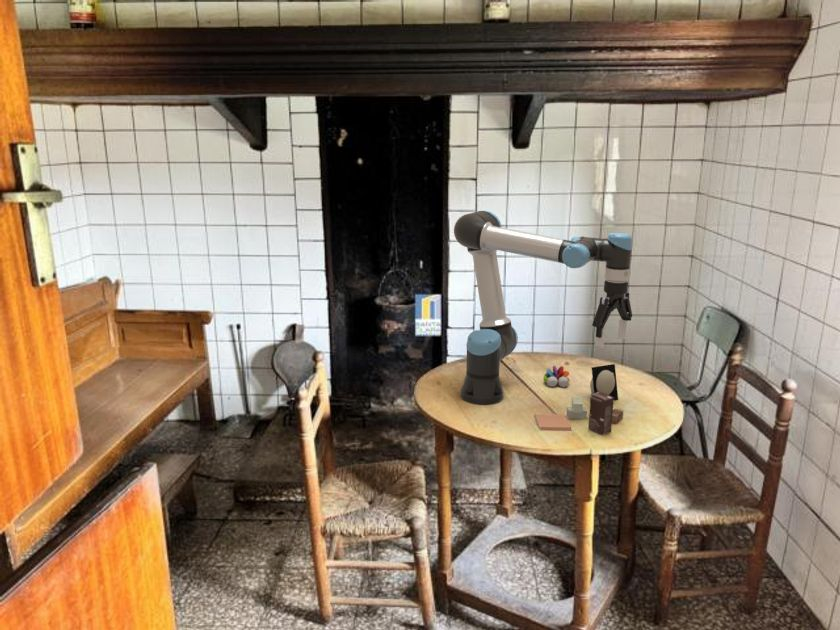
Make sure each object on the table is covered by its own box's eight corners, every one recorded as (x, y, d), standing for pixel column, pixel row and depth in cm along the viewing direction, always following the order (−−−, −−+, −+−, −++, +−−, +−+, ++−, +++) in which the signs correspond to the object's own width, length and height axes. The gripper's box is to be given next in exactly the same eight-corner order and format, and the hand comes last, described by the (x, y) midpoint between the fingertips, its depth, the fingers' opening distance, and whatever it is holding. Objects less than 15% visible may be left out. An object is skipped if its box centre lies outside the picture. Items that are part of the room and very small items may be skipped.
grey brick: (568, 419, 210) (569, 410, 209) (566, 415, 213) (567, 407, 212) (586, 419, 210) (587, 410, 209) (584, 415, 213) (584, 407, 212)
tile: (539, 429, 201) (539, 427, 201) (534, 416, 211) (534, 413, 211) (571, 430, 201) (571, 427, 201) (564, 417, 211) (564, 414, 211)
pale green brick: (582, 412, 208) (582, 404, 207) (572, 412, 208) (573, 403, 207) (580, 405, 213) (581, 397, 213) (571, 405, 214) (572, 396, 213)
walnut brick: (615, 425, 206) (616, 416, 205) (606, 422, 208) (607, 414, 207) (622, 419, 210) (623, 410, 210) (613, 416, 212) (614, 408, 211)
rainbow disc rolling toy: (571, 388, 236) (572, 370, 234) (545, 388, 236) (546, 369, 234) (566, 380, 244) (568, 362, 242) (541, 380, 244) (542, 362, 242)
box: (587, 429, 202) (590, 393, 199) (596, 425, 205) (599, 390, 202) (602, 436, 198) (605, 399, 194) (611, 432, 200) (615, 396, 197)
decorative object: (582, 401, 229) (604, 398, 233) (600, 404, 219) (623, 400, 223) (578, 366, 229) (601, 363, 232) (596, 367, 219) (620, 364, 223)
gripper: (604, 288, 198) (599, 352, 204) (646, 277, 214) (640, 337, 220) (584, 283, 204) (579, 347, 209) (626, 274, 219) (621, 332, 225)
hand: (610, 342), depth 214 cm, fingers open, 13 cm apart
